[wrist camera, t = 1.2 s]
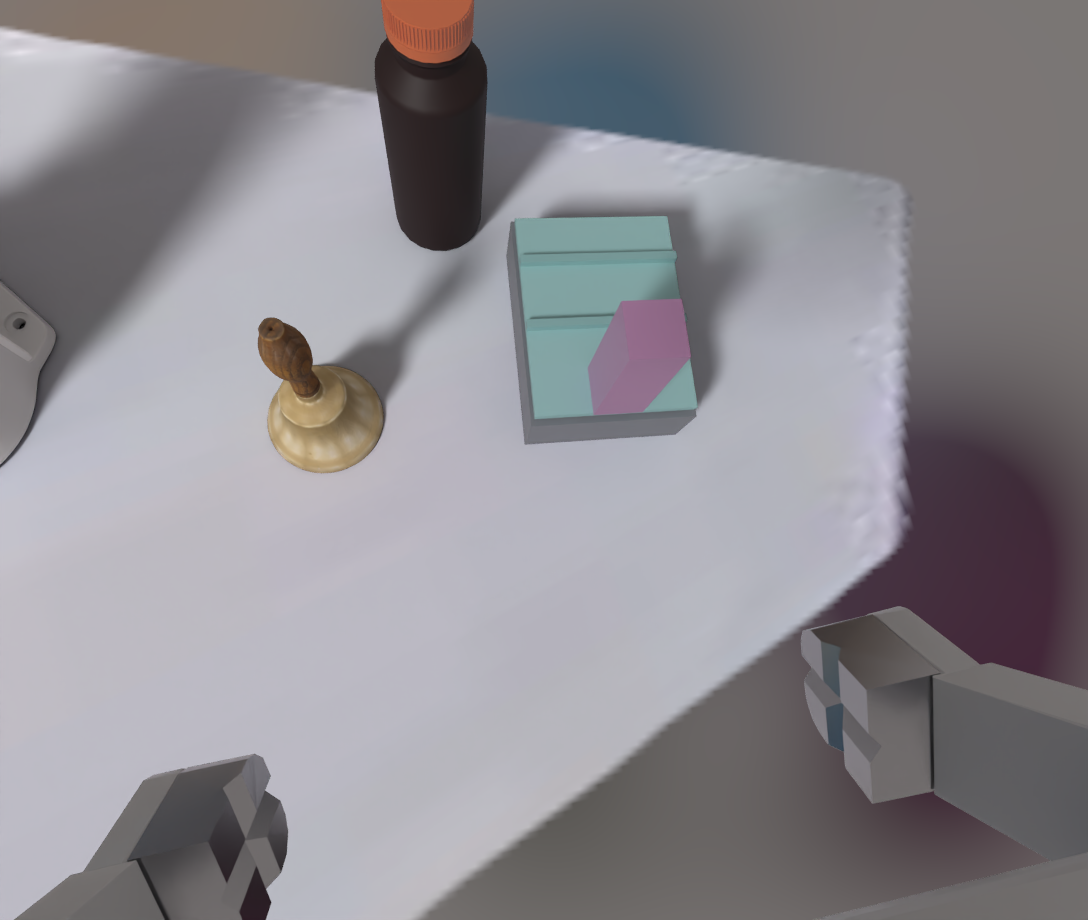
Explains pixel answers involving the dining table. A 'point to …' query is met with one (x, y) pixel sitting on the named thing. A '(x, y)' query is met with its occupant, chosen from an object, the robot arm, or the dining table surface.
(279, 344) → the hand bell
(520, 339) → the tray
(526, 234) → the lid
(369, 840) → the dining table surface
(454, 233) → the bottle
